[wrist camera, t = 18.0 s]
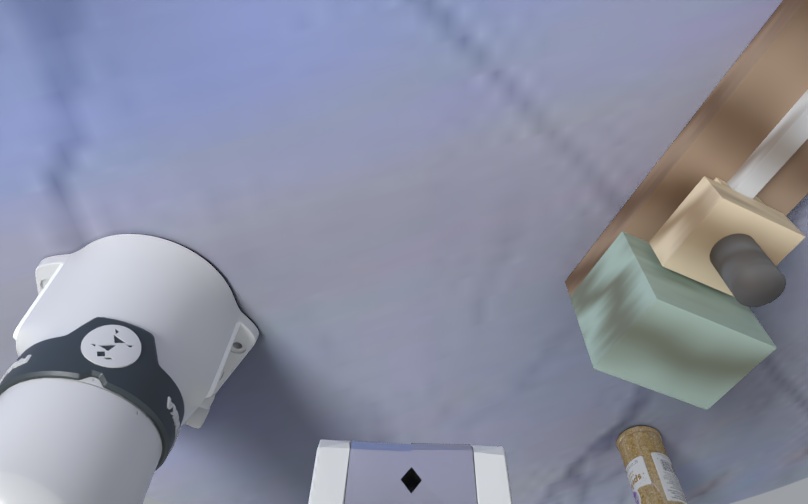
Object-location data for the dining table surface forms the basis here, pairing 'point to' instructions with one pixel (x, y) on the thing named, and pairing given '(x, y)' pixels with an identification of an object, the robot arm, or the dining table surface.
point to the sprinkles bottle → (649, 467)
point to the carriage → (728, 242)
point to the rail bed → (659, 198)
